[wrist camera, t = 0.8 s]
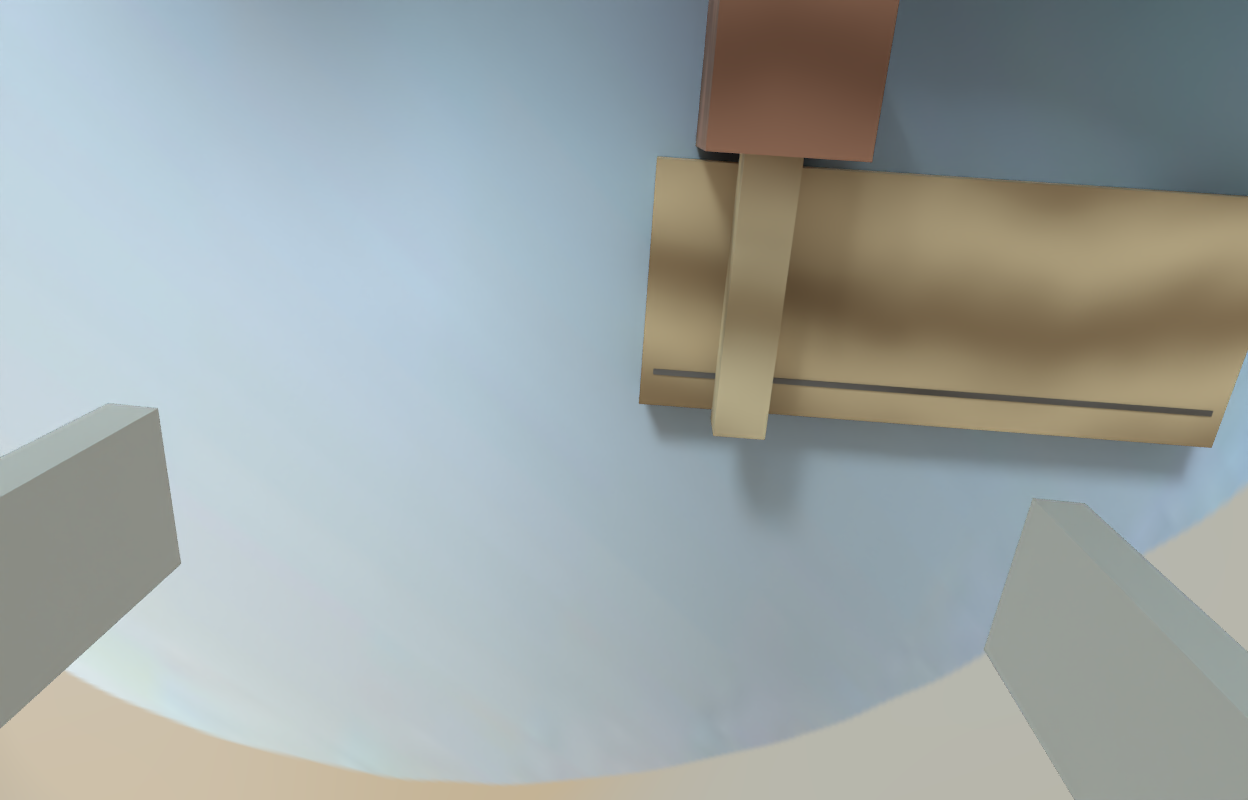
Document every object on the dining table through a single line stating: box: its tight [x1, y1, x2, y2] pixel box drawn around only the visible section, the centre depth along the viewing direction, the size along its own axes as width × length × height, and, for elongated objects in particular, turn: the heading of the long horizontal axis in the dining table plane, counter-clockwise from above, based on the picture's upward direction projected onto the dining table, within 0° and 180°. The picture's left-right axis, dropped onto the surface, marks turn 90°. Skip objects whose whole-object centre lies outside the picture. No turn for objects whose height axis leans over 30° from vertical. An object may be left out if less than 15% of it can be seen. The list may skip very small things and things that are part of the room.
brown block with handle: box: [696, 0, 899, 440], centre depth 27 cm, size 16×5×8 cm, turn 177°
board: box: [639, 157, 1248, 448], centre depth 30 cm, size 10×24×2 cm, turn 87°
